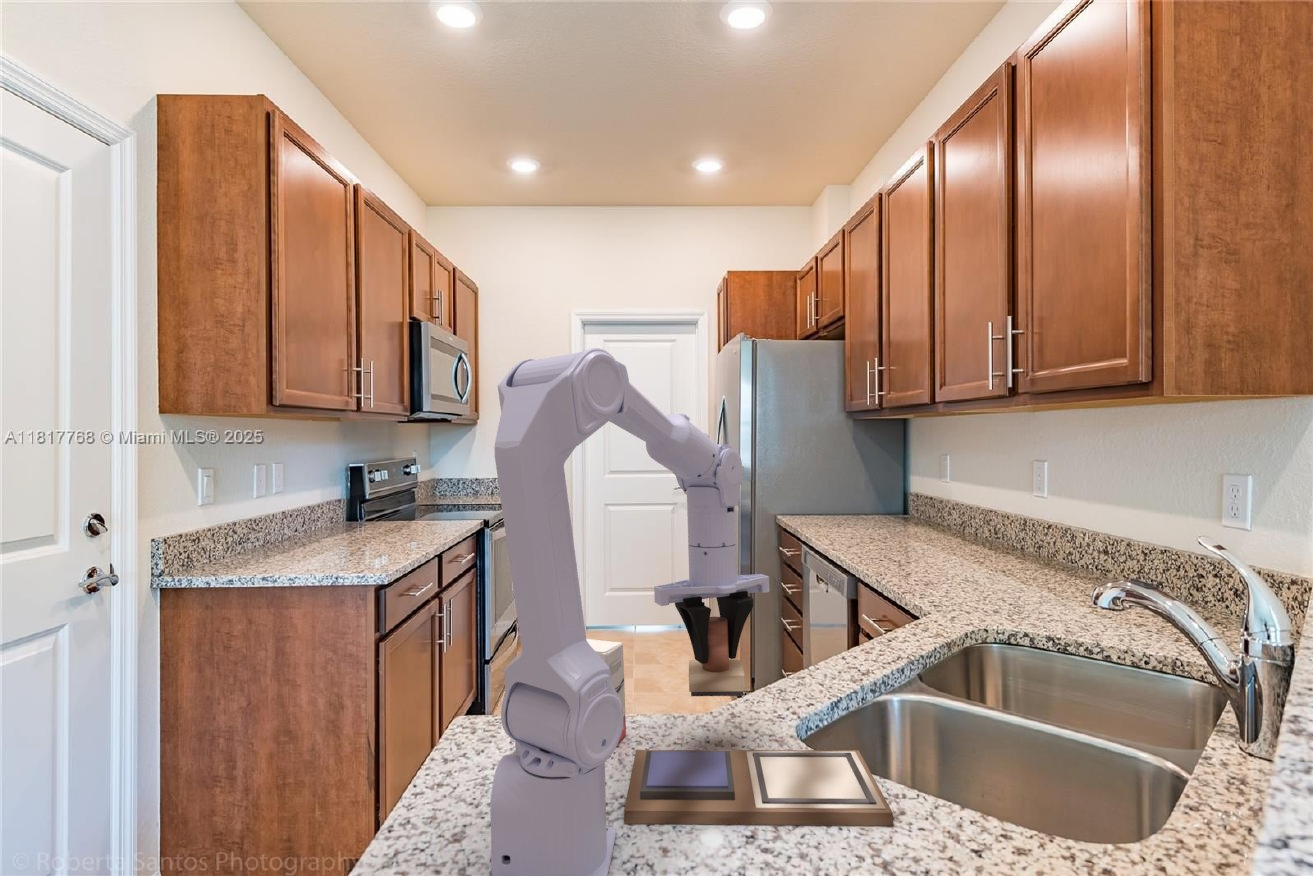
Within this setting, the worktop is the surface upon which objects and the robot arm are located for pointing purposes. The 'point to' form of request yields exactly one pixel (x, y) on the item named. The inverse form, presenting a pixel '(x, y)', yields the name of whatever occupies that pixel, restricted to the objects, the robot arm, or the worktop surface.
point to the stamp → (717, 666)
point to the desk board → (754, 788)
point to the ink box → (613, 668)
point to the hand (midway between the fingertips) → (715, 658)
